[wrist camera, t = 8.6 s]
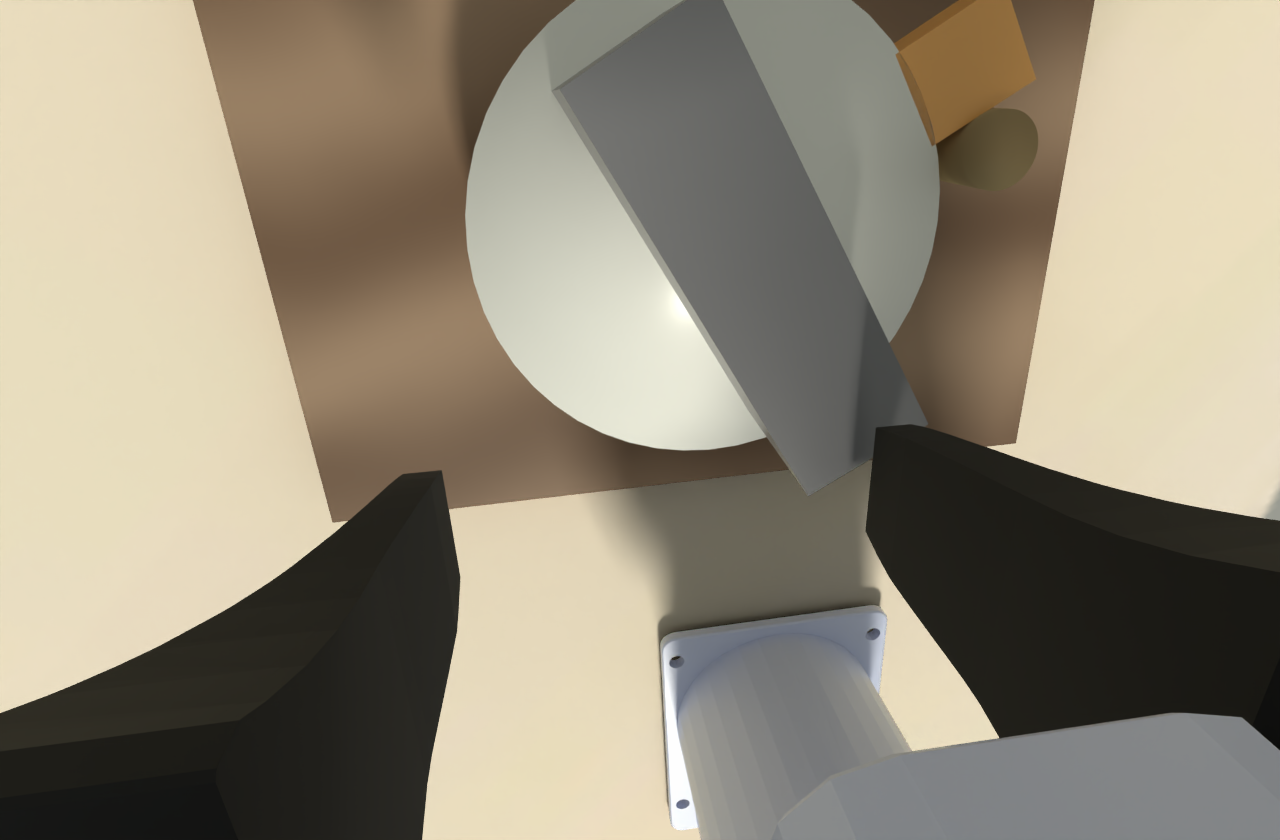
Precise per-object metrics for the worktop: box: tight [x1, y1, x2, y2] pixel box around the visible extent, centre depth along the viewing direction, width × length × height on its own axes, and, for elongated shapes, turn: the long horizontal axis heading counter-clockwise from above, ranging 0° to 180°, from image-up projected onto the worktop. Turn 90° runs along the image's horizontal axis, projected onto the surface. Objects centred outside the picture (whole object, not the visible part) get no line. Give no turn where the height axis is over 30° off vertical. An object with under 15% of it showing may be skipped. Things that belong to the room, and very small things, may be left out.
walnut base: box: [193, 0, 1094, 522], centre depth 17 cm, size 15×20×5 cm
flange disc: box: [465, 0, 1036, 496], centre depth 14 cm, size 12×10×5 cm
